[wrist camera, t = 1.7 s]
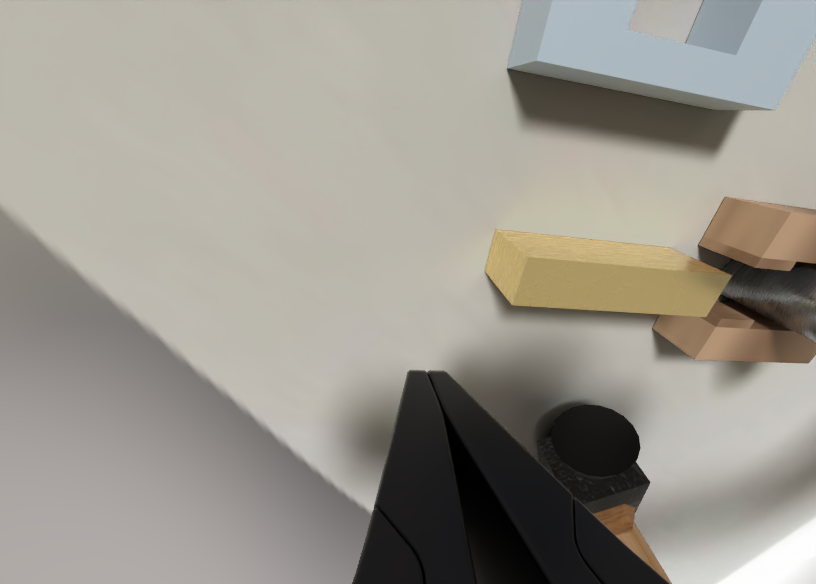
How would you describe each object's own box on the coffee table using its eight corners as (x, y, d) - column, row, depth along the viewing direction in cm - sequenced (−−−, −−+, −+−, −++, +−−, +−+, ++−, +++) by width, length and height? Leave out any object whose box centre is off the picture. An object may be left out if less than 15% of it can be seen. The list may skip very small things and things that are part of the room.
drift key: (669, 247, 18) (732, 275, 15) (650, 284, 19) (705, 317, 16) (495, 229, 17) (527, 256, 13) (484, 270, 18) (512, 305, 14)
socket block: (842, 213, 19) (921, 230, 16) (755, 333, 22) (808, 363, 20) (725, 197, 17) (790, 212, 15) (652, 328, 21) (694, 359, 18)
